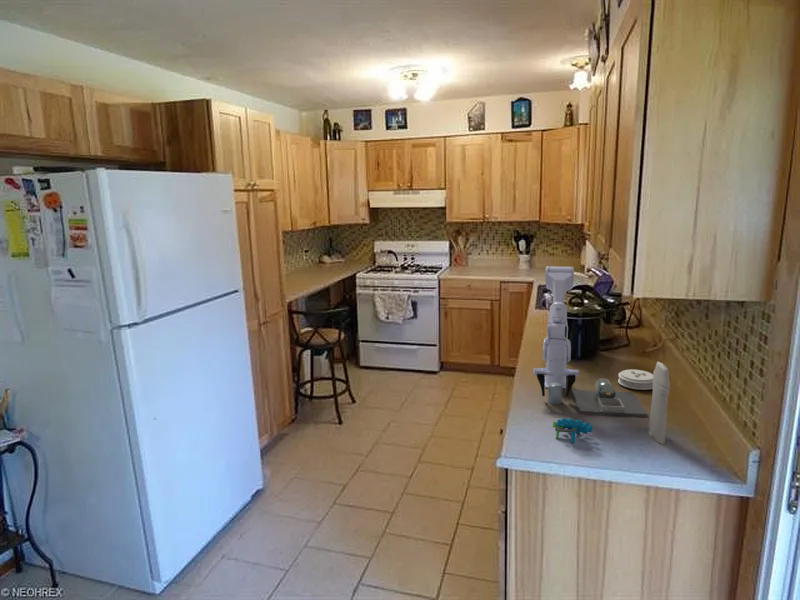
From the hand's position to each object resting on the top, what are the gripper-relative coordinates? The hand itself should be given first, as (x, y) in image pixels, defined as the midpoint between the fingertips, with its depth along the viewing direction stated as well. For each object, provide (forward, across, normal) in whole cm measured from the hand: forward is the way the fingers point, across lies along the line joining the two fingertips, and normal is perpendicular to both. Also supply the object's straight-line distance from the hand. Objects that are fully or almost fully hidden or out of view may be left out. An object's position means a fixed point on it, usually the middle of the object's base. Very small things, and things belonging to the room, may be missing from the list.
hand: (554, 395), depth 170 cm
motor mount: (+2, +17, 0) cm, 17 cm away
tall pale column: (+2, +26, -22) cm, 34 cm away
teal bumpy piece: (+3, +2, -26) cm, 26 cm away
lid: (+2, +31, +19) cm, 36 cm away
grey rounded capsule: (+2, 0, 0) cm, 2 cm away
